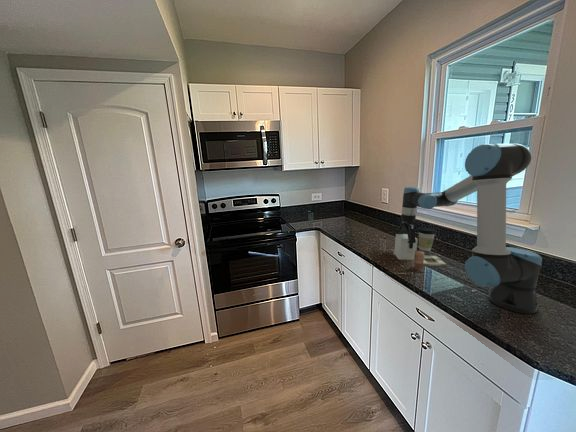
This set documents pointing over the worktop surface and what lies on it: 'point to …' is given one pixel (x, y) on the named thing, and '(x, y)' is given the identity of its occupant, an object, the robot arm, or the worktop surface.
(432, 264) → the socket board
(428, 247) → the coffee cup
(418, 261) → the peg
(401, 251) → the block
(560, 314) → the worktop surface
